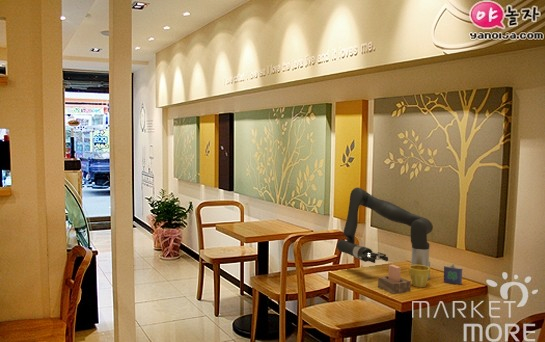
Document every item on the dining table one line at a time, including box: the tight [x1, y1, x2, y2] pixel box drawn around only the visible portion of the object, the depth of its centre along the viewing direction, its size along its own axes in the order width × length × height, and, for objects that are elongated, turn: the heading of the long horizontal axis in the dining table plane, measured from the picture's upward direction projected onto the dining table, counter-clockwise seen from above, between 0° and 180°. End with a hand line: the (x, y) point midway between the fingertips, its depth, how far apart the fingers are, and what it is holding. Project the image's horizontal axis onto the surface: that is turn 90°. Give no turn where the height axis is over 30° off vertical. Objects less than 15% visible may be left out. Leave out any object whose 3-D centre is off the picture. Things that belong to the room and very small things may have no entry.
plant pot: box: [408, 265, 431, 288], centre depth 250 cm, size 10×10×10 cm
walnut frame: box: [377, 275, 412, 295], centre depth 244 cm, size 11×13×5 cm
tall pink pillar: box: [387, 264, 401, 283], centre depth 244 cm, size 2×6×12 cm, turn 27°
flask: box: [443, 263, 463, 286], centre depth 254 cm, size 9×3×11 cm, turn 63°
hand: (381, 260), depth 253 cm, fingers open, 8 cm apart
